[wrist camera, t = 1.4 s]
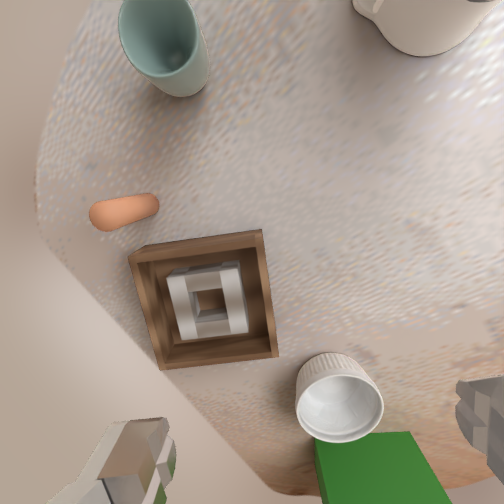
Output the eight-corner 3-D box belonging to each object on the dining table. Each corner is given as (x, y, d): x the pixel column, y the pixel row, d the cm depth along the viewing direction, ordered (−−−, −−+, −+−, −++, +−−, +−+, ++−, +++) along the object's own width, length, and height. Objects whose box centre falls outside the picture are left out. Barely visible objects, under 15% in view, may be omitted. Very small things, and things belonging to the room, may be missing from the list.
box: (145, 245, 42) (127, 256, 36) (261, 229, 41) (262, 238, 35) (171, 346, 47) (159, 370, 41) (276, 333, 46) (279, 356, 40)
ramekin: (291, 408, 50) (296, 445, 43) (290, 346, 46) (295, 375, 40) (364, 406, 50) (381, 443, 43) (368, 343, 46) (387, 372, 39)
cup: (222, 93, 36) (210, 64, 26) (167, 111, 37) (135, 89, 27) (203, 26, 34) (182, -33, 24) (146, 47, 35) (103, -2, 25)
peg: (135, 195, 40) (85, 203, 28) (156, 191, 40) (114, 199, 28) (140, 216, 41) (94, 233, 29) (161, 213, 40) (123, 229, 29)
